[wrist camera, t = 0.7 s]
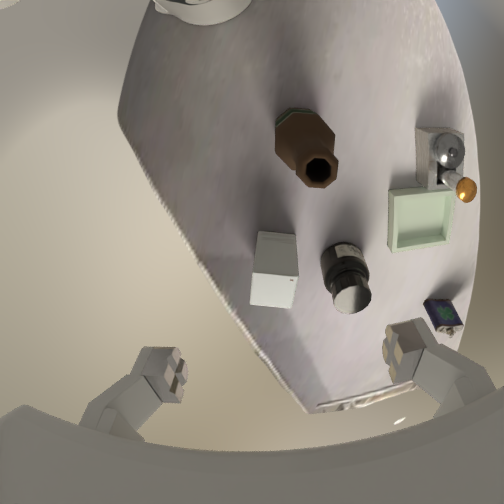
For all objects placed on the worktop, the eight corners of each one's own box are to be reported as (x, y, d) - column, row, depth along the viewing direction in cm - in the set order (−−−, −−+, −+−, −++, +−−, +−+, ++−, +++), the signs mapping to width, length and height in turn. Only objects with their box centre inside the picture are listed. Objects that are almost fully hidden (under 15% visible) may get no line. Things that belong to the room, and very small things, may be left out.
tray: (388, 190, 45) (394, 196, 42) (448, 184, 42) (456, 190, 39) (387, 244, 51) (391, 253, 49) (442, 236, 48) (448, 243, 46)
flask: (452, 299, 58) (468, 330, 48) (447, 307, 60) (462, 338, 50) (425, 298, 58) (441, 331, 49) (420, 306, 60) (434, 340, 51)
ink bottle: (371, 258, 53) (387, 298, 43) (340, 283, 58) (350, 325, 48) (341, 231, 51) (355, 270, 41) (309, 260, 55) (315, 301, 45)
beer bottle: (312, 99, 38) (350, 112, 18) (327, 143, 41) (373, 199, 22) (266, 114, 40) (255, 141, 20) (283, 157, 44) (289, 224, 24)
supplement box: (257, 229, 52) (252, 271, 41) (296, 234, 52) (300, 276, 41) (254, 261, 56) (248, 305, 46) (290, 265, 56) (292, 309, 45)
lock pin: (425, 157, 40) (460, 180, 30) (441, 156, 39) (477, 179, 29) (425, 176, 42) (458, 203, 32) (440, 175, 41) (475, 201, 31)
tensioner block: (414, 126, 37) (435, 135, 31) (449, 126, 36) (471, 135, 30) (416, 179, 43) (434, 195, 37) (448, 177, 41) (468, 192, 35)
